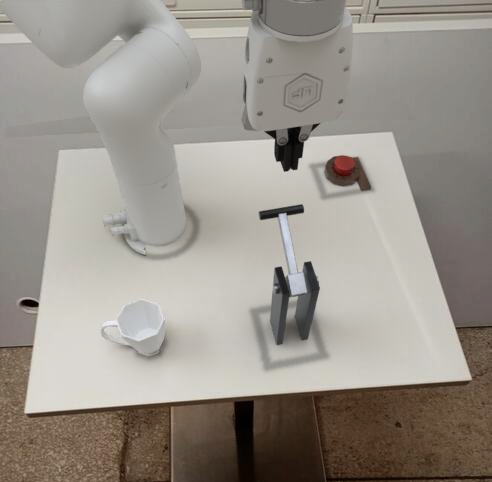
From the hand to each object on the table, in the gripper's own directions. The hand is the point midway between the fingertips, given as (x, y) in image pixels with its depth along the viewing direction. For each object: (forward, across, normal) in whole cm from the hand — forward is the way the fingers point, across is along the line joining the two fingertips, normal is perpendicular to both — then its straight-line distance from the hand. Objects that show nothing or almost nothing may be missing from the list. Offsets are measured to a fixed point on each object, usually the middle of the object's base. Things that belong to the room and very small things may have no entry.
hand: (287, 162), depth 59 cm
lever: (+12, 0, -4) cm, 13 cm away
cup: (+27, -23, -6) cm, 36 cm away
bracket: (+27, 0, -9) cm, 28 cm away
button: (+25, +18, +21) cm, 37 cm away
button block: (+27, +18, +21) cm, 39 cm away
